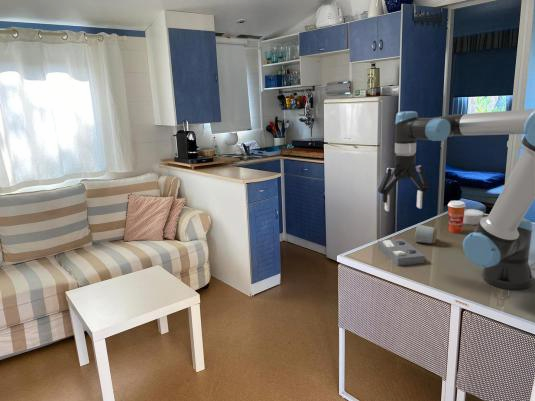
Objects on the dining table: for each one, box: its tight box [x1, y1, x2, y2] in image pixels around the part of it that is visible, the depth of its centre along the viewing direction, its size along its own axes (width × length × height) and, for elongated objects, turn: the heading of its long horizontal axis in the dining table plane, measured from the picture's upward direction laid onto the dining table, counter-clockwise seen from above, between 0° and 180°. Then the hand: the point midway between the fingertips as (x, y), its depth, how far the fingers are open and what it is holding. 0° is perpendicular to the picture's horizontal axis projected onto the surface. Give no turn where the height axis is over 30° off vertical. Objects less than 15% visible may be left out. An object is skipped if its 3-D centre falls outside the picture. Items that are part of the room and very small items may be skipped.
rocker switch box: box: [377, 238, 426, 267], centre depth 171 cm, size 20×11×3 cm, turn 7°
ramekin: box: [463, 208, 485, 226], centre depth 204 cm, size 11×11×5 cm
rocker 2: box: [392, 251, 405, 256], centre depth 166 cm, size 5×3×1 cm, turn 7°
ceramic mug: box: [414, 224, 438, 245], centre depth 184 cm, size 11×8×8 cm
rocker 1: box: [382, 239, 395, 247], centre depth 176 cm, size 5×3×1 cm, turn 8°
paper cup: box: [447, 200, 467, 234], centre depth 192 cm, size 8×8×14 cm
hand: (403, 209), depth 159 cm, fingers open, 12 cm apart
